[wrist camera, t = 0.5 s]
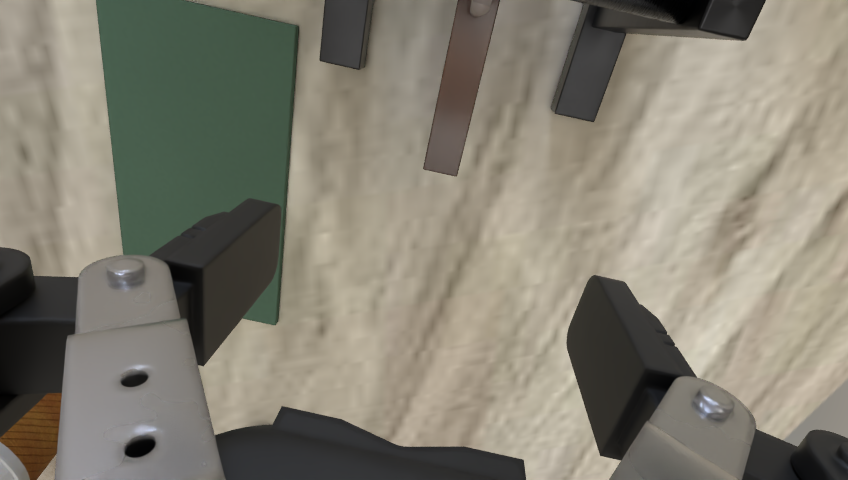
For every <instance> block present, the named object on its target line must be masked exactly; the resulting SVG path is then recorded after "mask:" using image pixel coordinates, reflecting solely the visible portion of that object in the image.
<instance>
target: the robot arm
mask: <svg viewBox="0 0 848 480" xmlns="http://www.w3.org/2000/svg"><path fill="white" fill-rule="evenodd" d="M280 229H281V207H280V205H279V204H275V203H270V202H266V201H261V200H257V199H252V198H248V199H246V200H245V201H244V202H242V203H241V204H240V205H238V206H237V207H235V208H234V209H233V210H231V211H230V212H221V213H217V214H214V215H211V216H207V217H204V218H203V219H201V220H200V221H199V222H197V223H196V224H194V225H193V226H192V228H188V229H187V230H185V231H184V232H183V233H181V236H177V237H175V238H174V239H172V240H171V241H169V242H168V243H166V244H165V245H164V246H162V247H161V248H159V249H158V250H156V251H155V252H153V253H152V254H150V255H149V256H145V255H120V256H113V257H109V258H105V259H101V260H99V261H96V262H94V263H92V264H90V265H88V266H87V267H85V268H84V269H83V270H82V271H81V273H80V274H79V277H50V276H34V275H33V270H32V265H31V260H30V257H29V256H28V255H27V254H25V253H24V252H22V251H19V250H15V249H11V248H2V247H0V437H1V436H3V435H4V434H5V433H6V432H7V431H8V430H9V429H10V428H11V427H12V426H13V425H14V424H15V423H17V422H18V421H19V420H20V419H21V418H22V417H23V416H24V415H25V414H26V413H27V412H28V411H29V410H31V409H32V408H33V407H34V406H35V405H36V404H37V403H38V402H39V401H40V400H41V399H42V398H43V397H44V396H45V395H46V394H48V393H62V398H61V410H60V422H59V434H58V445H57V457H56V469H55V480H526V475H525V467H524V460H522V459H517V458H513V457H508V456H504V455H499V454H495V453H490V452H486V451H481V450H477V449H472V448H468V447H403V446H398V445H396V444H393V443H391V442H389V441H387V440H385V439H382V438H380V437H378V436H376V435H374V434H372V433H370V432H367V431H365V430H363V429H361V428H359V427H357V426H354V425H352V424H350V423H348V422H346V421H344V420H342V419H337V418H333V417H328V416H324V415H319V414H315V413H310V412H306V411H301V410H297V409H292V408H288V407H283V406H282V407H281V409H280V411H279V413H278V415H277V417H276V419H275V421H274V423H273V425H261V426H251V427H245V428H240V429H235V430H231V431H228V432H224V433H221V434H218V435H214V431H213V427H212V422H211V418H210V414H209V410H208V406H207V402H206V397H205V393H204V389H203V385H202V381H201V376H200V372H199V368H198V365H201V366H204V365H205V364H206V362H207V361H208V360H209V359H210V358H211V356H212V355H213V354H214V353H215V351H216V350H217V349H218V348H219V346H220V345H221V344H222V343H223V341H224V340H225V339H226V338H227V336H228V335H229V334H230V333H231V331H232V330H233V329H234V328H235V326H236V325H237V324H238V323H239V321H240V320H241V319H242V318H243V317H244V315H245V314H246V313H247V312H248V310H249V309H250V308H251V307H252V305H253V304H254V303H255V302H256V300H257V299H258V298H259V297H260V295H261V294H262V293H263V292H264V290H265V289H266V288H267V287H268V285H269V284H270V283H271V281H272V280H273V277H274V275H275V272H276V269H277V265H278V258H279V243H280ZM567 350H568V353H569V356H570V360H571V363H572V366H573V369H574V373H575V376H576V379H577V382H578V385H579V389H580V392H581V395H582V398H583V402H584V405H585V408H586V411H587V414H588V418H589V421H590V424H591V427H592V431H593V434H594V437H595V440H596V443H597V447H598V450H599V453H600V456H604V457H608V458H613V459H617V460H621V462H620V463H619V465H618V467H617V468H616V470H615V471H614V473H613V474H612V476H611V478H610V479H609V480H848V438H845V437H843V436H841V435H838V434H836V433H832V432H829V431H824V430H813V431H810V432H809V433H808V434H807V436H806V437H805V438H804V439H803V441H802V442H801V443H800V445H799V446H798V447H797V446H794V445H792V444H790V443H787V442H785V441H783V440H780V439H778V438H776V437H773V436H771V435H769V434H766V433H764V432H762V431H759V430H757V429H756V422H755V419H754V417H753V415H752V414H751V412H750V411H749V410H748V409H747V407H746V406H745V405H744V404H743V403H742V402H741V401H739V400H738V399H737V398H736V397H735V396H733V395H732V394H730V393H729V392H727V391H726V390H724V389H723V388H721V387H719V386H717V385H715V384H713V383H711V382H708V381H706V380H703V379H700V378H697V377H696V375H695V374H694V372H693V371H692V369H691V368H690V366H689V365H688V363H687V362H686V360H685V358H684V357H683V355H682V354H681V352H680V351H679V349H678V348H677V347H675V343H674V342H673V340H672V339H671V337H670V336H669V335H667V331H666V330H665V328H664V327H663V325H662V324H661V322H660V321H659V319H658V318H657V317H655V316H654V315H653V314H652V313H651V312H650V311H648V310H647V309H646V308H645V307H644V306H643V305H640V304H639V303H638V302H637V300H636V298H635V297H634V295H633V294H632V292H631V290H630V289H629V287H628V286H627V284H626V283H625V282H623V281H619V280H614V279H610V278H605V277H601V276H596V275H593V276H592V277H591V278H590V279H589V280H588V282H587V284H586V287H585V289H584V292H583V294H582V296H581V299H580V301H579V304H578V306H577V309H576V311H575V313H574V316H573V318H572V321H571V323H570V326H569V329H568V334H567Z"/></svg>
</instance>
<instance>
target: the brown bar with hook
mask: <svg viewBox="0 0 848 480" xmlns="http://www.w3.org/2000/svg"><path fill="white" fill-rule="evenodd" d="M499 2H500V0H458V3H457V8H456V13H455V18H454V22H453V27H452V32H451V37H450V42H449V46H448V51H447V56H446V61H445V66H444V71H443V75H442V80H441V85H440V90H439V95H438V99H437V104H436V109H435V114H434V119H433V124H432V128H431V133H430V138H429V143H428V148H427V152H426V157H425V162H424V167H423V169H424V170H429V171H433V172H438V173H442V174H447V175H451V176H457V174H458V170H459V166H460V162H461V158H462V154H463V149H464V145H465V141H466V137H467V133H468V129H469V125H470V121H471V117H472V113H473V109H474V104H475V100H476V96H477V92H478V88H479V84H480V80H481V76H482V72H483V68H484V64H485V59H486V55H487V51H488V47H489V43H490V39H491V35H492V31H493V27H494V23H495V18H496V14H497V10H498V6H499Z"/></svg>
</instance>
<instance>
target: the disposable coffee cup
mask: <svg viewBox="0 0 848 480" xmlns="http://www.w3.org/2000/svg"><path fill="white" fill-rule="evenodd" d="M61 398H62V393H48V394H46V395H45V396H44V397H43V398H42V399H41V400H40V401H39V402H38V403H37V404H36V405H35V406H34V407H33V408H32V409H31V410H29V411H28V412H27V413H26V414H25V415H24V416H23V417H22V418H21V419H20V420H19V421H18V422H17V423H15V424H14V425H13V426H12V427H11V428H10V429H9V430H8V431H7V432H6V433H5V434H4V435H3V436H1V437H0V480H37V478H38V477H39V476H40V475H41V473H42V472H43V471H44V469H45V468H46V467H47V465H48V464H49V463H50V461H51V460H52V459H53V458H54V456H55V455H56V454H57V445H58V434H59V422H60V410H61Z"/></svg>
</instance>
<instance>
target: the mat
mask: <svg viewBox="0 0 848 480" xmlns="http://www.w3.org/2000/svg"><path fill="white" fill-rule="evenodd" d="M96 5H97V14H98V24H99V33H100V42H101V51H102V61H103V70H104V79H105V88H106V98H107V107H108V116H109V125H110V135H111V144H112V153H113V162H114V172H115V181H116V190H117V199H118V209H119V218H120V227H121V236H122V246H123V255H145V256H149V255H150V254H152V253H153V252H155V251H156V250H158V249H159V248H161V247H162V246H164V245H165V244H166V243H168V242H169V241H171V240H172V239H174V238H175V237H177V236H181V233H183V232H184V231H185V230H187V229H188V228H192V226H193V225H194V224H196V223H197V222H199V221H200V220H201V219H203V218H204V217H207V216H211V215H214V214H217V213H221V212H230V211H231V210H233V209H234V208H235V207H237V206H238V205H240V204H241V203H242V202H244V201H245V200H246V199H248V198H252V199H257V200H261V201H266V202H270V203H275V204H279V205H280V207H281V229H280V243H279V258H278V265H277V269H276V272H275V275H274V277H273V280H272V281H271V283H270V284H269V285H268V287H267V288H266V289H265V290H264V292H263V293H262V294H261V295H260V297H259V298H258V299H257V300H256V302H255V303H254V304H253V305H252V307H251V308H250V309H249V310H248V312H247V313H246V314H245V315H244V317H243V319H248V320H252V321H257V322H262V323H266V324H271V325H276V324H277V322H278V315H279V301H280V287H281V273H282V258H283V244H284V230H285V216H286V202H287V187H288V173H289V159H290V145H291V131H292V116H293V102H294V88H295V74H296V60H297V45H298V31H299V26H296V25H292V24H287V23H283V22H278V21H274V20H270V19H265V18H261V17H256V16H252V15H247V14H243V13H238V12H234V11H229V10H225V9H220V8H216V7H212V6H207V5H203V4H198V3H194V2H189V1H185V0H96Z"/></svg>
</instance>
